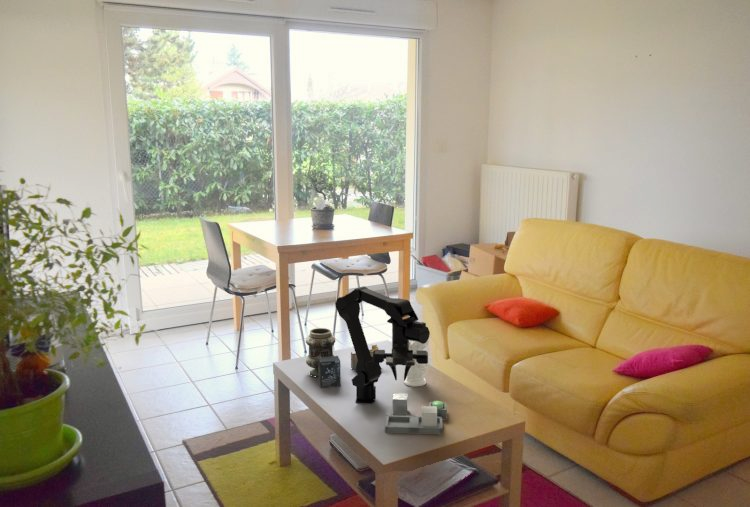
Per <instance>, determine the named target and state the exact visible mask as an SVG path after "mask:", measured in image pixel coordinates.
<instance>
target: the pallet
mask: <svg viewBox="0 0 750 507" xmlns="http://www.w3.org/2000/svg"><path fill="white" fill-rule="evenodd" d="M385 417H386V419H385V426H384V433H387V434H391V433H392V434H415V435H416V434H417V435H418V434H420V435H422V434H423V435H424V434H425V435H443V430H444V429H443V419H442V417H437V406H429V405H426V406H425V405H421V416H420V415H407V416H395V415H393V414H392V415H389V414H388V415H386V416H385Z"/></svg>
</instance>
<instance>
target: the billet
mask: <svg viewBox="0 0 750 507" xmlns="http://www.w3.org/2000/svg"><path fill="white" fill-rule="evenodd" d="M408 394H409V393H393V394H392V415H395V416H408V397H409V396H408Z"/></svg>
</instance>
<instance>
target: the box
mask: <svg viewBox="0 0 750 507" xmlns="http://www.w3.org/2000/svg"><path fill="white" fill-rule="evenodd" d="M318 368H319V378H318V384H320V385H319V387H320V388H321V387H323V388H329V387H328V386H334V387H341V360H340V358H339V355H334V356H330V357H318Z"/></svg>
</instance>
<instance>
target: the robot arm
mask: <svg viewBox="0 0 750 507" xmlns="http://www.w3.org/2000/svg"><path fill="white" fill-rule="evenodd" d="M362 302H364V303H367V304H369V305H372V306H373V307H376V308H378V309H381V310H383V311H384V312H385V314H386V315H387V316H388V317H390V318H389V319H388V320H387V321H386V322H387V323H389V324H391V327H392V328H391V330H392V331H391V338H392V339H391V353H390V352H389V353H388V352H386V349H378V350H374V352H373V357H372V356H371V354H370V351H369V350H370V348H369V346H368V343H367V339H366V336H365V333H364V330H363V327H362V323H361V321H360V313H361V312H360V311H361V306H360V304H361V303H362ZM335 308H336V311H337V313H338V315H339V317H340V318H341V319H343V320H344V322H345V324H346V327H347V331H348V334H349V336H350V339H351V343H352V345H353V346H352V347H353V348H354V352H355V353H356V356H357V359H358V360H357V366H356V371H355V372H356V375H355V376H354V377H352V379H351V383H352V386H354V387H356V399H355V403H356V404H357V403H358V404H359V403H360V404H363V403H364V404H374V402H375V400H376V397H377V386H376V385H375V383H378V381H379V378H380V377H381V375H382V371H381V370H382V367H381V365H380V363H381V364H382V363H383V362H385V365H386V366H389V368H390V369H391V372H392V375H393V377H394V380H395V381H397V380H398V378H397V377H398V373H397V366H404V375H403V382H404V381H405V380H406V377H407V374H408V371H409V369H410V367H411V366H413V365H415V359H416V361H417V362H418V363H419V364H429V353H428V350H423V351H417V354H413V350H409V340H411V341H415V342H418V343H422V344H424V343H426V342H427V341H428V339H429V338H430V336H431V335H430V334H431V333H430V330H429V327H428V326H427V323H426V322H423V321H421V322H420V321H419V317H418V315H417V313H416V312H415V310H414V308H413V306H412V304H411V301H410V300H408V299H404V298H399V297H397V298H396V297H395V298H393V297H389V296H387V295H385V294H381V293H380V292H377V291H374V290H372V289H369V288H368V287H366V286H364V285H363V286H359V287H356V288H354V289H353V290H352V291H350V292H349V293H347V294H345V295H343V296H340V297H338V298H337V299H336V301H335ZM405 365H406V366H405Z"/></svg>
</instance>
